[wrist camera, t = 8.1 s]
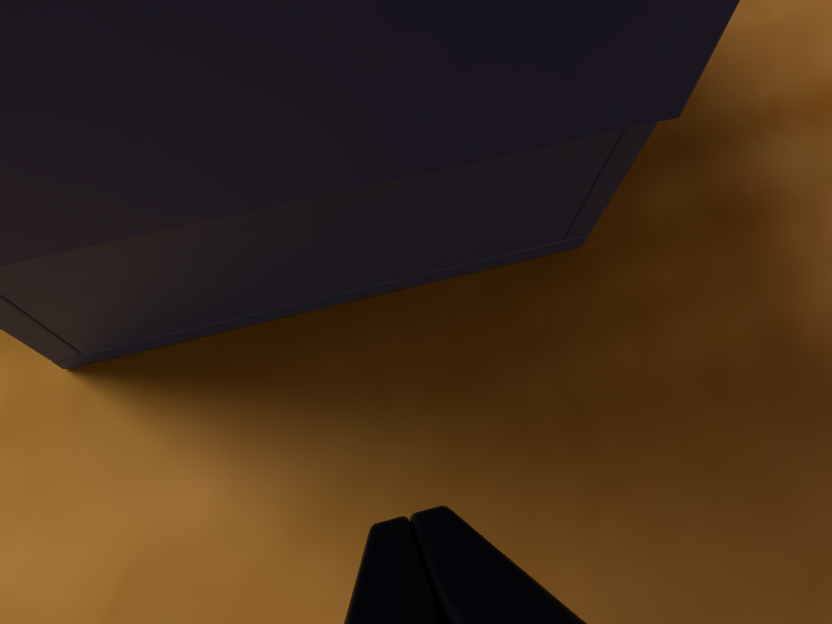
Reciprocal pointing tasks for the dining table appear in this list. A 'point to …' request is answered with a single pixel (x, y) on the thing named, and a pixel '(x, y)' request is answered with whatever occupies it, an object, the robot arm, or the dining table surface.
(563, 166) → the box
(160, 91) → the lid
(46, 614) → the dining table surface
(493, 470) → the dining table surface
